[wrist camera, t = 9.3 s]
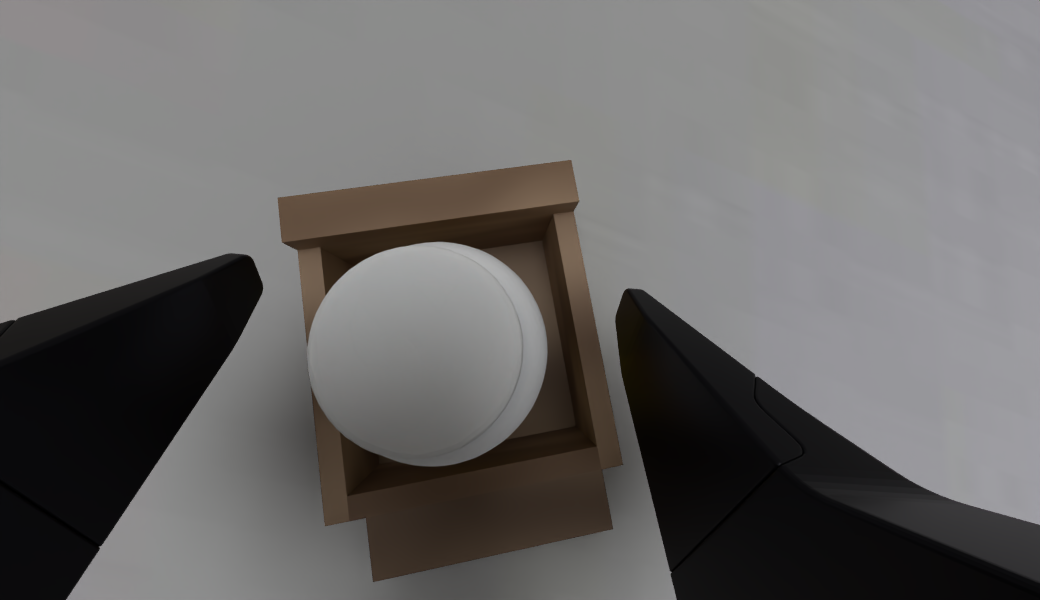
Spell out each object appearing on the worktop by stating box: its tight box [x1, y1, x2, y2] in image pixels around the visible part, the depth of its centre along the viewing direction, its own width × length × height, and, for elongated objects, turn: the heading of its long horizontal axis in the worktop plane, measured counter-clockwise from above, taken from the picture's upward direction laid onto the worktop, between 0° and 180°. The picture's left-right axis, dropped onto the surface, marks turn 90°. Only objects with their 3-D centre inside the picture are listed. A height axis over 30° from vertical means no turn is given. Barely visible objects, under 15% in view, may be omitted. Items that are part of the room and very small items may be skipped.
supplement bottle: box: [307, 242, 548, 466], centre depth 12 cm, size 6×6×10 cm
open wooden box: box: [278, 160, 623, 582], centre depth 15 cm, size 15×10×6 cm
